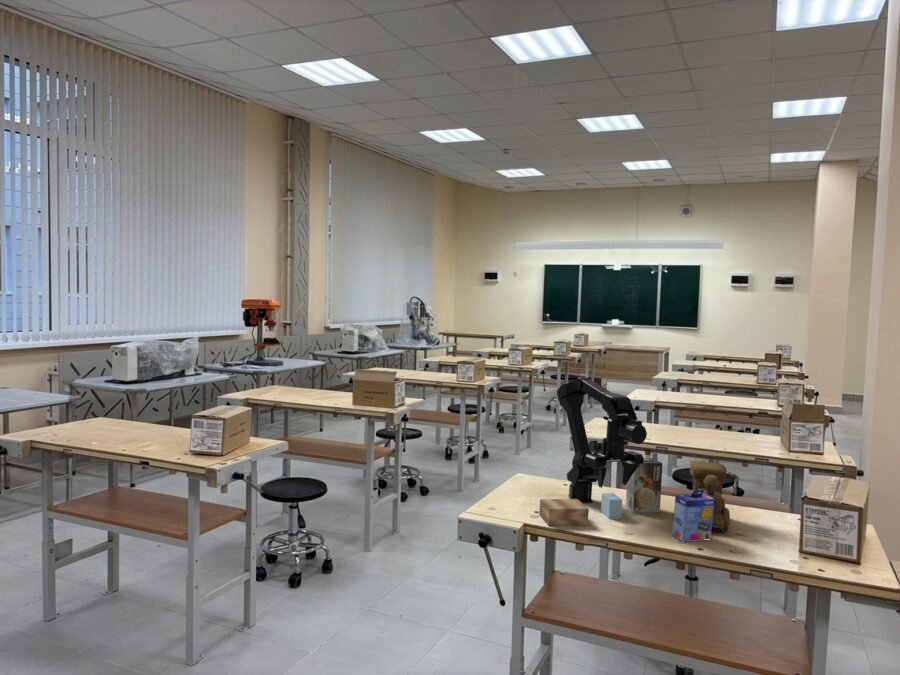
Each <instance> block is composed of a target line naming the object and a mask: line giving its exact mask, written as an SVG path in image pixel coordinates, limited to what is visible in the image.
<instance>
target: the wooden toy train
mask: <svg viewBox="0 0 900 675" xmlns="http://www.w3.org/2000/svg"><path fill="white" fill-rule="evenodd" d="M689 464H690V467H689V473H690V475H691V477H692V492H693V491H694V490H704V492H703V494H705V495H708V496H710V497H712V498H713V499H715V503H714V512H713V521H712V528H721V531H722V530H723V531H722V532H724V531H726V532H727V531H729V529H730V521H731V520H730V519H731V516H730V515H731V514H730V509H729V508H727V507H726V502H725V501H726V500H725V499H724V498H723V497H722V492H723V484H724V481H727V473H728V472H727V471H728V469H727V468H726V466H725V465H724V464H720V463H716V462H708V461H700V460H690V462H689ZM692 492H690V493H689V494H692ZM696 493H701V492H696Z"/></svg>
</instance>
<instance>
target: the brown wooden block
mask: <svg viewBox="0 0 900 675" xmlns="http://www.w3.org/2000/svg"><path fill="white" fill-rule="evenodd" d="M538 510H539V511H538V513H539V514H538V516H539V517H540V518H541V519H542V520H543V521H544V523H545V524H546V523H547V524H546V525H547V526H548V527H567V526H568V527H570V526H571V527H573V526H574V527H576V526H577V527H579V526H580V527H583V526H585V527H586V526H588V525H589V511H590V509H589V508H588V507H587V506H586V505H585V504H584V502H580V501H579V500H578V499H571V498H540V499H539V509H538Z"/></svg>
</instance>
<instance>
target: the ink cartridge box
mask: <svg viewBox="0 0 900 675" xmlns="http://www.w3.org/2000/svg"><path fill="white" fill-rule="evenodd" d="M696 492H701V493H696ZM703 492H704V490H694V491H693V490H692V492H691V494H690V493H678V494H675V495H674V496H675V497H674V499H675V500H674V507H673V508H674V510H673V519H672V520H673V521H672V530H671V532H672V533H671V535H672V536H673V537H675V538H676V537H677V538H676V539H678V540H679V539H680V540H682V541H690V542H695V541H694V540H704V539H710V540H711V539H712V529H713V526H712V521H713V512H714V503H715V499H713V498H712V497H710V496H708V495H705V494H703ZM680 540H679V541H680ZM682 541H681V542H682ZM704 541H705V540H704Z"/></svg>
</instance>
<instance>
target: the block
mask: <svg viewBox="0 0 900 675" xmlns="http://www.w3.org/2000/svg"><path fill="white" fill-rule="evenodd" d="M600 502H601V503H600V513H601V512H602V513H603V514H602V513H601V514H602V515H604V516H605V518H607V519H608V520H615V519H614V518H617V520H618V518H621V519H622V513H623V512H622V509H623V499H622V498H621V497H620V496H618V495H617V494H615V493H614V492H613V493H609V492H608V493H604V492H603V493H601V500H600Z"/></svg>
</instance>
